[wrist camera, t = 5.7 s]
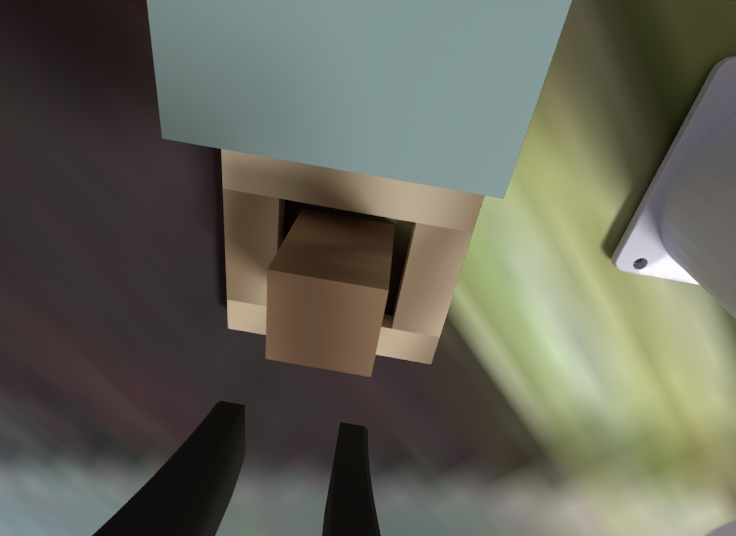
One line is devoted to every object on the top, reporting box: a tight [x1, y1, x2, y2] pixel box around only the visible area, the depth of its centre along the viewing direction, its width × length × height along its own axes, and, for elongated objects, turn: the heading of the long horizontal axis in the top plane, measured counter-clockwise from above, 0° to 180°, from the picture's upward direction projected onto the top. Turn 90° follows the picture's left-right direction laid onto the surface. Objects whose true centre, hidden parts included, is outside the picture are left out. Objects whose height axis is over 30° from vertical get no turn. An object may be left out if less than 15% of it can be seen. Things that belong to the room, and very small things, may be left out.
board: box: [221, 149, 485, 364], centre depth 16 cm, size 10×16×1 cm, turn 172°
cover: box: [147, 0, 572, 199], centre depth 11 cm, size 8×5×6 cm, turn 82°
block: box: [266, 209, 395, 377], centre depth 17 cm, size 4×4×5 cm
